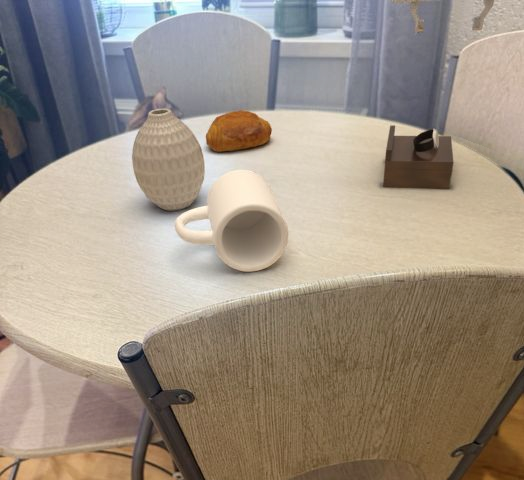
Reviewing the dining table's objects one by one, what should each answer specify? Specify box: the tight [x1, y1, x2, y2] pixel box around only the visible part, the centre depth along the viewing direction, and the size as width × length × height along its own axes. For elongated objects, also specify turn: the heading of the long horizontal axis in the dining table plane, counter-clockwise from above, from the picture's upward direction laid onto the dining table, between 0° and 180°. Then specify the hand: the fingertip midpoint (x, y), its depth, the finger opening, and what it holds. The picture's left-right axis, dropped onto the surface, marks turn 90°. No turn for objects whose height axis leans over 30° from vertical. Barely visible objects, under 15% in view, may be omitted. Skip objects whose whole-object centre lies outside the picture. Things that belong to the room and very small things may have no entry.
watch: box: [413, 128, 440, 152], centre depth 100 cm, size 8×5×4 cm, turn 158°
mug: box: [174, 169, 289, 273], centre depth 82 cm, size 16×14×11 cm
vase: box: [131, 108, 206, 212], centre depth 96 cm, size 13×13×17 cm
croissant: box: [205, 109, 273, 153], centre depth 124 cm, size 14×16×8 cm
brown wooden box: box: [382, 124, 454, 190], centre depth 103 cm, size 12×14×7 cm
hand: (447, 31), depth 91 cm, fingers open, 8 cm apart
